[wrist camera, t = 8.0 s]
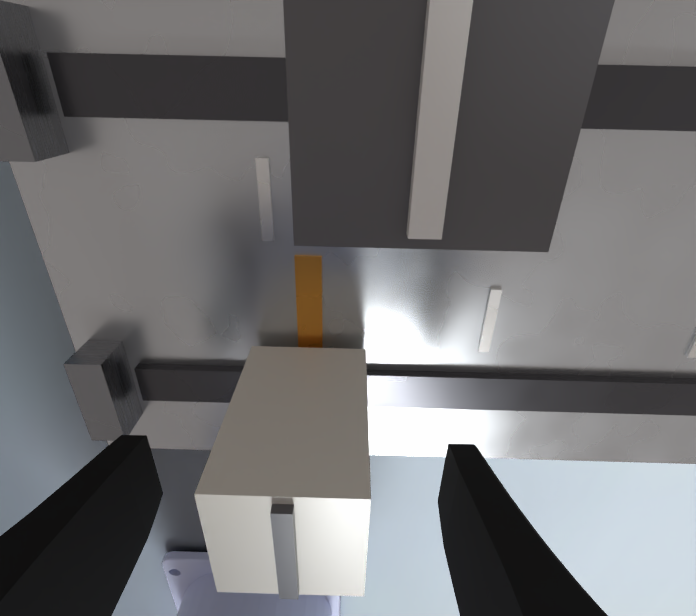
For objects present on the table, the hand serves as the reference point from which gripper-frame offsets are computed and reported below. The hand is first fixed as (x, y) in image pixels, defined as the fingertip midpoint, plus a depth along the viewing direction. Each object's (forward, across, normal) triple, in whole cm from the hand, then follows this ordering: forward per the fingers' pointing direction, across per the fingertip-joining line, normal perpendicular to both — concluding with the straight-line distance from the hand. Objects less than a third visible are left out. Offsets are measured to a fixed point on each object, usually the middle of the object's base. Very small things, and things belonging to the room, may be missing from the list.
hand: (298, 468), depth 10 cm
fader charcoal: (+3, -2, -8) cm, 9 cm away
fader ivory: (+3, 0, 0) cm, 3 cm away
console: (+4, -5, -4) cm, 8 cm away
